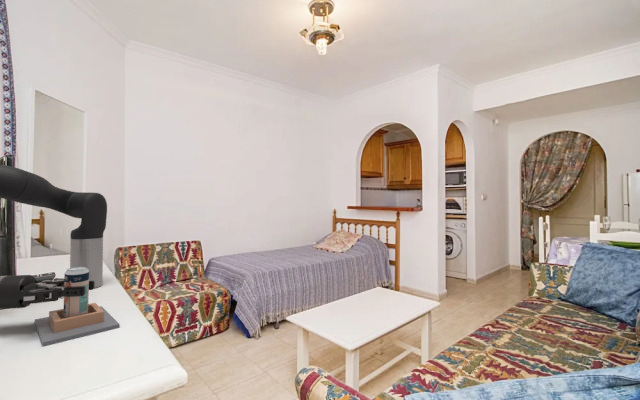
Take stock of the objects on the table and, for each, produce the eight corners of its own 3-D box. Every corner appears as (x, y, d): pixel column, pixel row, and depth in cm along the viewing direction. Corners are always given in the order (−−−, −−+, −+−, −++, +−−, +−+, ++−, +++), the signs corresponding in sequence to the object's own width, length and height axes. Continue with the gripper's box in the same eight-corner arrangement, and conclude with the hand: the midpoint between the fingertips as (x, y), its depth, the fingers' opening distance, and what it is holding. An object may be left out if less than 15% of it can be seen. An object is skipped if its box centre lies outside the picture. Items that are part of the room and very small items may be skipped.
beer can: (67, 315, 78) (68, 267, 78) (90, 312, 80) (91, 265, 80) (60, 322, 74) (61, 271, 74) (84, 319, 76) (86, 269, 76)
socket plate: (34, 322, 78) (34, 309, 78) (101, 309, 88) (101, 297, 88) (42, 346, 66) (42, 330, 66) (119, 327, 76) (119, 313, 76)
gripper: (-19, 284, 66) (76, 280, 71) (24, 269, 80) (101, 266, 85) (-20, 319, 66) (75, 313, 71) (23, 298, 80) (100, 294, 84)
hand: (89, 288), depth 78 cm, fingers closed on beer can, 4 cm apart
